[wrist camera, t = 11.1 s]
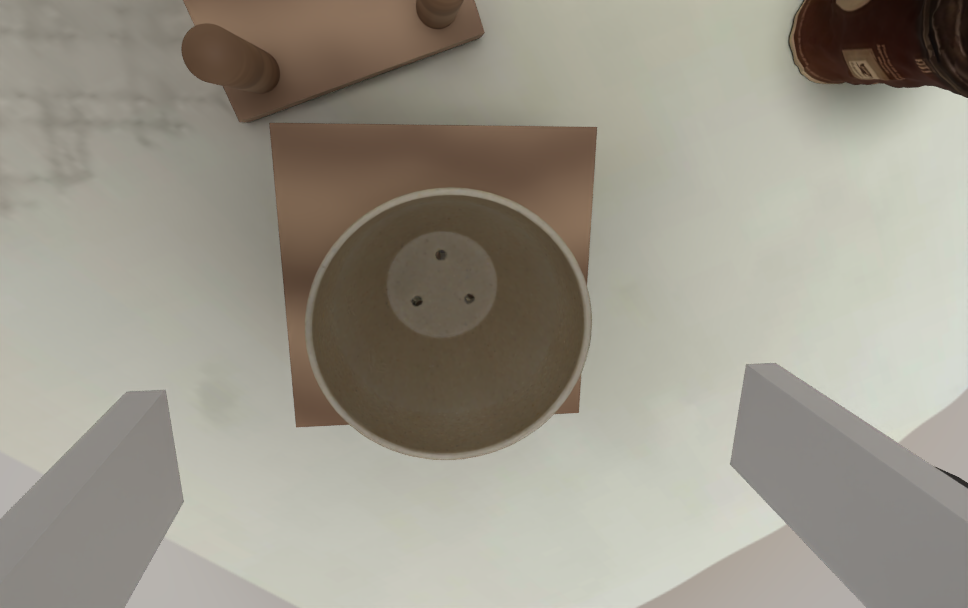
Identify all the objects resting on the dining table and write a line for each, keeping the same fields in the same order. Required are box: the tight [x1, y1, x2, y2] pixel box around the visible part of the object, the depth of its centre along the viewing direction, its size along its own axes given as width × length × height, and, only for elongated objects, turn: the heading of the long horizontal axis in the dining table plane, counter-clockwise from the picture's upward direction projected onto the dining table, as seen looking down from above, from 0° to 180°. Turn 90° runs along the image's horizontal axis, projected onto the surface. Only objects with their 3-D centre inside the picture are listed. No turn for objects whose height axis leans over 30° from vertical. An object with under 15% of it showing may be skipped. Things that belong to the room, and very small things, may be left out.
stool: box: [269, 123, 597, 427], centre depth 32 cm, size 14×14×10 cm
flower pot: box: [305, 187, 592, 460], centre depth 24 cm, size 10×10×7 cm
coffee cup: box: [789, 0, 968, 98], centre depth 30 cm, size 9×8×13 cm
